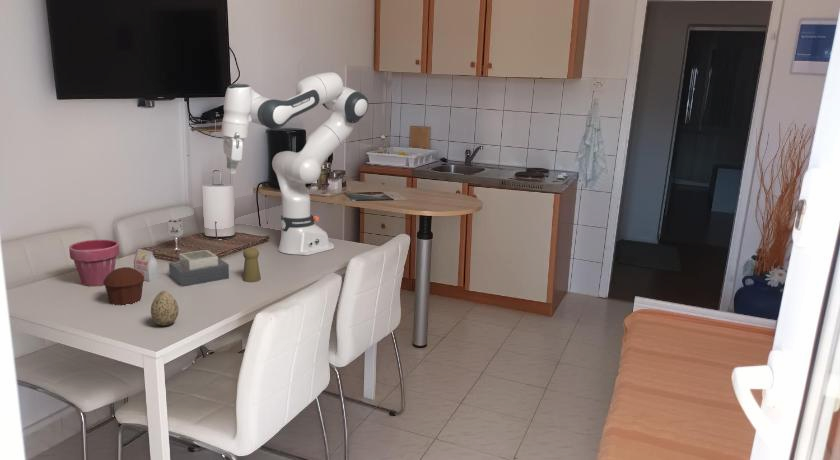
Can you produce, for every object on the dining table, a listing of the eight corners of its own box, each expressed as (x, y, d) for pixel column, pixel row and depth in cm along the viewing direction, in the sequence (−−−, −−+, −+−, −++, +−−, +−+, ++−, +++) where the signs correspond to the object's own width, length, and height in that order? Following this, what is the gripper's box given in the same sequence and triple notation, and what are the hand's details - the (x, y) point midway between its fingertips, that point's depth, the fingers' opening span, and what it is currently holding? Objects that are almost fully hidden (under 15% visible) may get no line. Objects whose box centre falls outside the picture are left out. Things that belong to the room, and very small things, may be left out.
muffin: (117, 292, 195) (115, 262, 192) (152, 294, 195) (150, 264, 192) (97, 306, 183) (94, 274, 181) (134, 308, 183) (131, 276, 181)
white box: (143, 275, 212) (141, 247, 209) (158, 279, 209) (156, 250, 206) (134, 278, 208) (132, 250, 206) (149, 282, 206) (147, 253, 203)
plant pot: (99, 272, 212) (96, 236, 209) (131, 278, 208) (128, 242, 205) (62, 284, 200) (58, 246, 196) (95, 291, 195) (91, 253, 192)
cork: (263, 277, 215) (262, 246, 212) (257, 282, 209) (256, 251, 206) (246, 275, 216) (245, 245, 213) (239, 281, 210) (238, 250, 207)
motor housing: (215, 268, 221) (214, 247, 219) (229, 278, 212) (228, 256, 210) (169, 276, 211) (168, 254, 209) (181, 286, 202) (180, 263, 200)
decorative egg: (152, 331, 168) (149, 296, 166) (151, 321, 175) (148, 288, 172) (180, 327, 171) (178, 294, 169) (178, 318, 178) (176, 285, 175)
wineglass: (173, 248, 244) (172, 218, 241) (187, 249, 243) (186, 219, 240) (166, 252, 238) (164, 222, 235) (180, 253, 237) (178, 223, 234)
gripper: (248, 136, 205) (244, 177, 208) (240, 128, 223) (236, 166, 226) (229, 134, 203) (225, 175, 206) (221, 126, 221) (218, 164, 224)
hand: (230, 170), depth 216 cm, fingers open, 8 cm apart
